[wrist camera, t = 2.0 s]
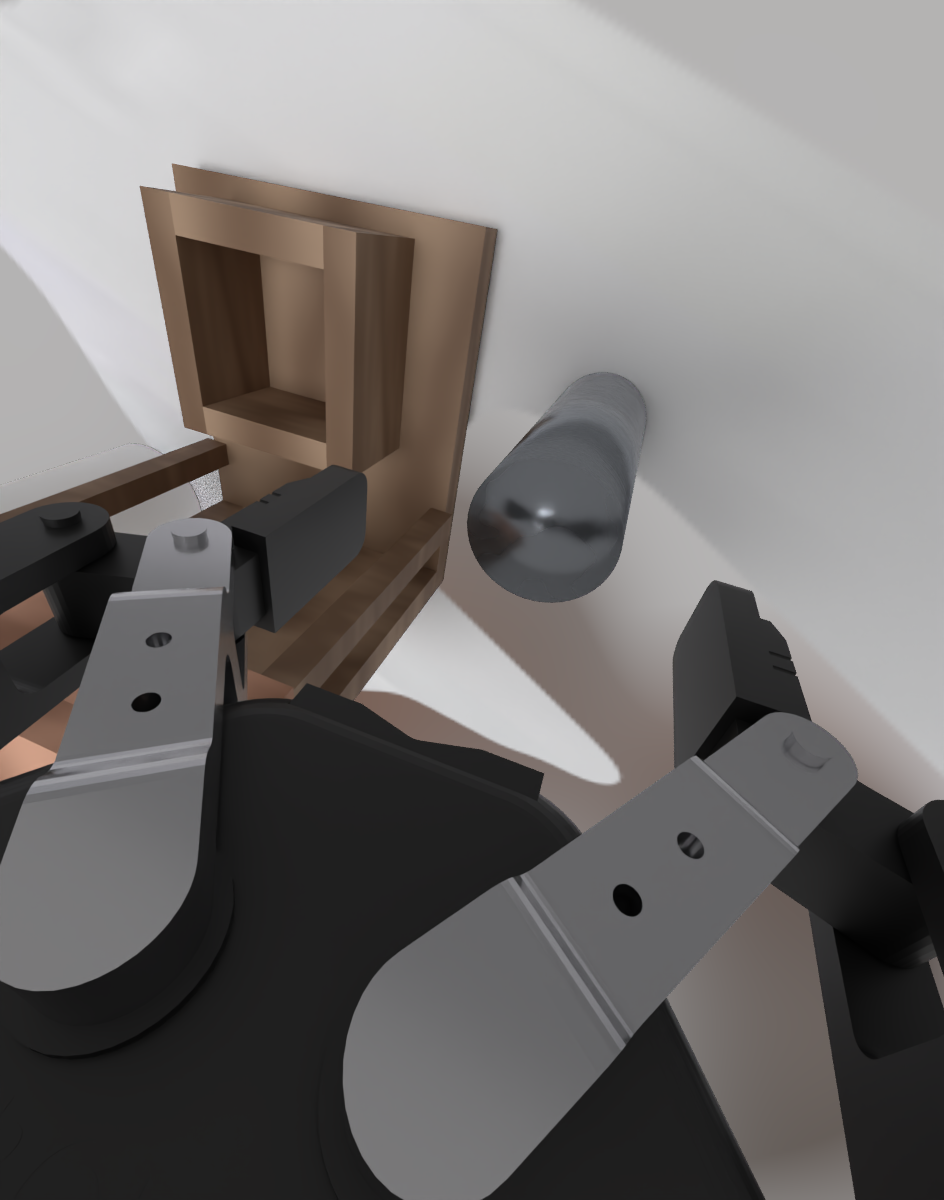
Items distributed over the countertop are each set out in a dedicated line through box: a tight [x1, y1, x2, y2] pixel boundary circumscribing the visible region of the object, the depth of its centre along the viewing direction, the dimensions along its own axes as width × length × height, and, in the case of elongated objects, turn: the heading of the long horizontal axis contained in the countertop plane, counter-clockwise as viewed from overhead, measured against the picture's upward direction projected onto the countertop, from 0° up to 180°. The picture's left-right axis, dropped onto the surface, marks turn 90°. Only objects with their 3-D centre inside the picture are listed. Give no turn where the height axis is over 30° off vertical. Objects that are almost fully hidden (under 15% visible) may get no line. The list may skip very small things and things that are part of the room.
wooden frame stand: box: [0, 164, 497, 781], centre depth 18 cm, size 15×18×19 cm
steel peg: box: [467, 372, 646, 603], centre depth 17 cm, size 4×4×12 cm
